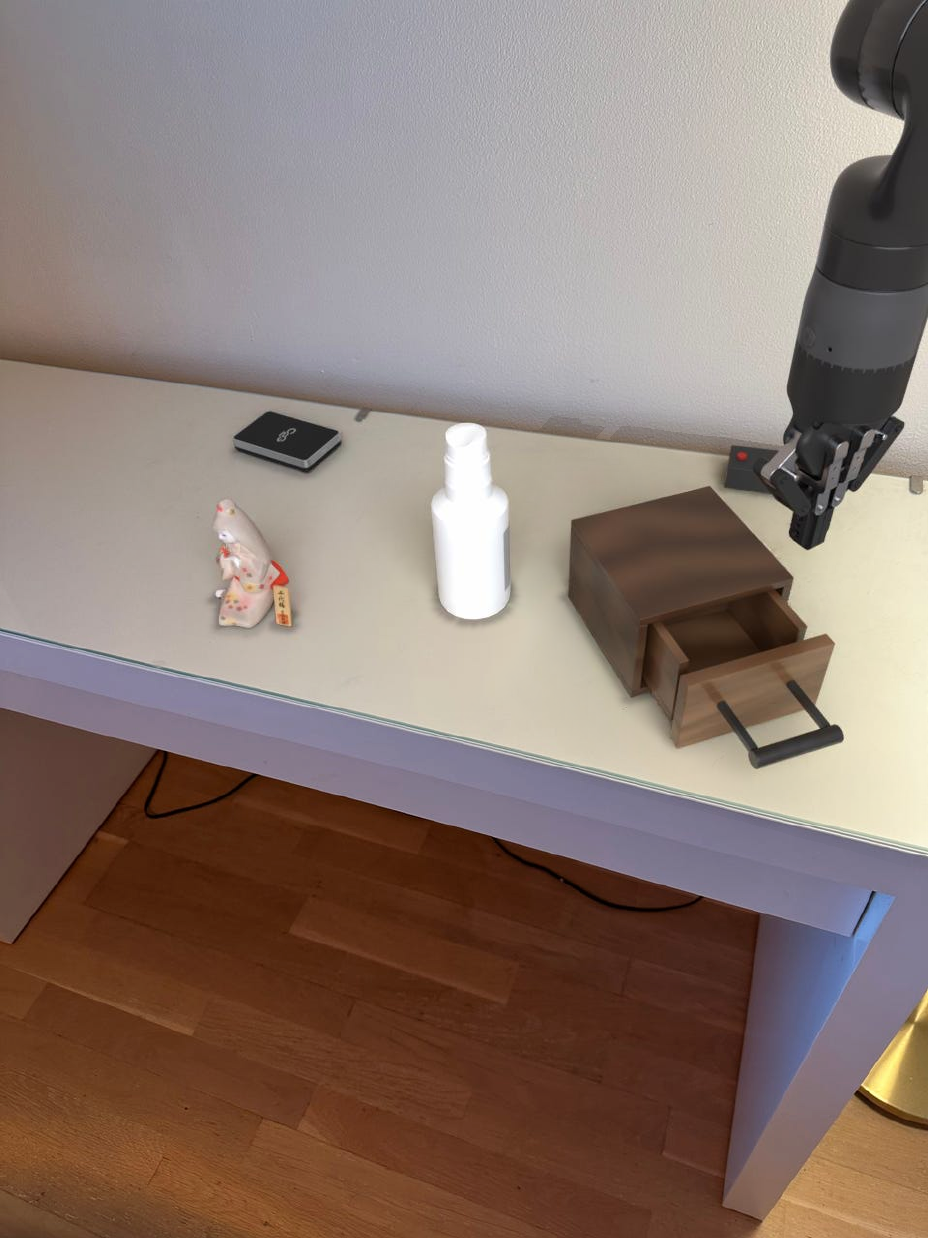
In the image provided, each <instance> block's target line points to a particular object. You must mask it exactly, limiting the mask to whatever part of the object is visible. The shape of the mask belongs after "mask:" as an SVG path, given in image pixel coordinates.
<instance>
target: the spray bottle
mask: <svg viewBox="0 0 928 1238" xmlns="http://www.w3.org/2000/svg"><path fill="white" fill-rule="evenodd" d="M444 441H445V453H444V456H443V463H444V486H443V487H441V488H440V489H439V490H437V492H436V493H435V494H434V496H433V497H432V500H431V504H430V514H431V525H432V536H433V548H434V558H435V570H436V571H435V572H436V581H437V591H438V598H439V602H440V604H441V605H442V606H443V608H444V609H445V610H446V612H448V613H449V614H451V615H453V616H454V617H457V618H461V619H464V620H481V619H486V618H487V619H488V618H490V617H492V616H495V615H497V614H498V613H499V612H501V611H502V610H503V609H505V607H506V605H507V604H508V602H509V601H510V599H511V591H512V590H511V589H512V588H511V540H510V537H511V536H510V535H511V533H510V502H509V499H508V495H507V494H506V492H505V491H504V490H503V489H502V488H501V487H500V486H499V485H496V484H494V483H493V475H492V463H491V460H492V459H491V453H490V450H489V448H488V433H487V430H486V429H485V427H484V426H482V425H480V424H478V423H474V422H460V423H456V424H454V425H452V426H450V427H449V428H447V430H446V431H445V434H444Z"/></svg>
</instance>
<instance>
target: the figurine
mask: <svg viewBox="0 0 928 1238" xmlns="http://www.w3.org/2000/svg"><path fill="white" fill-rule="evenodd" d="M211 523H212V529H213V530H214V531H215V532H216V533H217V536H218V538H219V539H220V541H222V543H221V546H220V548H219V550H218V552H217V555H216V557H215V562H216V565H217V567H219V568H220V569H221V570H220V580H222V581H224V580H229V579H231V581H229V583H230V585H229V586H228V588H227V589H225V588H223V589H217V590H216V591H215V597H216V598H221V602H220V610H219V613H218V625H219V626H222V627H224V626H225V627H227V626H237V627H241V628H245V629H246V628H247V629H251V628H254V627H255V626H256V625H258V624H259V623H260V622H261V621H262V620H263V619H264V618H265V616H266V615H267V614H268V613H269V612H270V609H271V607H272V606H273V603H274V612H275V623H276V624H277V625H279V626H284V627H285V626H286V627H289V628H290V627H291V628H292V625H293V622H292V621H293V620H292V619H293V618H292V615H293V611H292V609H291V608H292V606H291V594H290V587H288V586H285V585H288V584H289V583H290V578H289V577H288V575H287V573H286V571H285V570H284V569H283V567H282V566H281V565H280V564H279V563H278V562H277V561H276V560H272V552H271V549H270V546H269V544H268V542H267V540H266V539H265V536H264V535H263V534H262V532H261V530H260V529H259V528H258V526H257V524H256V523H255V522H254V521H253V519H252V518H251V517H250V516H249V515H248V514H247V513H246V512H245V511H244V510H243V509H242V508H241V507H239V506H237V503H236V502H235V501H234V499H232V498H229V497H224V498H222V499H220V500H219V501H218V502H217V504H216V513H215V515H214V517H213V519H212V522H211Z"/></svg>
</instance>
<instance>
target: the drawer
mask: <svg viewBox="0 0 928 1238" xmlns="http://www.w3.org/2000/svg"><path fill="white" fill-rule="evenodd" d="M807 629H808V625H807V624H806V622H804V621H803V620H802V618H801V617H800V615H798V614H797V613H796V612H795V610H794V609H793V608H792V607H791V606H790V604H789V603H787V602H786V601H785V600H784V599H783V598H782V597H781V596H780V594H779V593H778V592H777V591H776V590H775V589H774V590H770V591H767V592H763V593H759V594H756V595H752V596H748V597H745V598H741V599H738V600H734V601H730V602H727V603H723V604H719V605H716V606H712V607H709V608H705V609H701V610H698V611H694V612H690V613H687V614H683V615H679V616H676V617H672V618H669V619H665V620H661V621H658V622H654V623H650V624H648V628H647V636H646V644H645V653H644V661H643V669H642V678H643V679H644V681H645V682H646V684H647V685H648V687H649V688H650V690H651V691H652V692H651V693H652V695H653V696H654V698H655V700H656V701H657V702H658V704H659V706H660V707H661V709H662V710H663V711H664V713H665V714H666V716H667V718H668V719H669V721H670V722H672V725H671V731H670V737H669V738H670V740H671V742H672V744H673V745H674V746H675V748H676V749H677V750H678V749H681V748H685V747H688V746H691V745H695V744H698V743H701V742H704V741H708V740H711V739H714V738H717V737H718V738H719V737H720V736H724V735H727V734H731V733H733V732H734V734H735V735H736V736H737V738H738V740H739V741H740V742H741V744H742V745H743V746H744V748H745V749H746V750H747V752H748V754H747V755H748V761H749V764H750V765H751V766H752V768H754V769H755V770H760V769H762V768H766V767H769V766H773V765H776V764H778V763H781V762H785V761H787V760H792V759H794V758H797V757H800V756H803V755H807V754H809V753H813V752H817V751H820V750H822V749H826V748H829V747H833V746H835V745H838V744H841V743H843V742H844V739H845V735H844V731H843V730H842V727H841V726H839V725H838V724H835V723H834V724H831V723H830V722H829V721H828V719H827V718H826V717H825V716H824V714H822V712H821V711H820V710H819V708H818V707H817V702H818V698H819V696H820V693H821V690H822V687H823V683H824V679H825V676H826V674H827V670H828V667H829V664H830V662H831V659H832V655H833V652H834V648H835V646H836V642H835V641H834V640H833V639H832V638H831V636H829V635H828V634H827V633H822V634H819V635H816V636H813V637H810V638H806V639H805V637H806V633H807ZM802 711H805V712H806V713H807V714H808V715H809V717H810V718H811V719H812V720H813V722H814V723H815V724H816V726H817V727H818V729H817V728H816V729H814V730H811V731H808V732H805V733H802V734H798V735H795V736H792V737H789V738H785V739H783V740H779V741H776V742H773V743H770V744H767V745H762V746H760V747H759V746H758V744H757V743H756V742H755V740H754V739H753V738H752V736H751V735H750V733H749V732H748V730H747V728H750V727H753V726H756V725H760V724H763V723H766V722H770V721H773V720H777V719H779V718H783V717H786V716H789V715H792V714H795V713H796V714H797V713H799V712H802Z"/></svg>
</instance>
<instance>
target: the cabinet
mask: <svg viewBox="0 0 928 1238" xmlns="http://www.w3.org/2000/svg"><path fill="white" fill-rule="evenodd" d="M569 538H570V539H569V568H568V569H569V570H568V592H567V595H568V596H567V597H568V599H569V600H570V602H571V603H572V605H573V607H574V608H575V610H576V612H577V613H578V614H579V616H580V618H581V619H582V621H583V624H585V626H586V627H587V629H588V631H589V632H590V634H591V635H592V637H593V639H594V640H595V642H596V644H597V645H598V646H599V649H600V650H601V652H602V653H603V655H604V657H605V658H606V659H607V661H608V663H609V664H610V666H611V668H612V669H613V671H614V673H615V674H616V676H617V677H618V679H619V681H620V682H621V684H622V685H623V687H624V689H625V690H626V692H627V693H628V695H629V697H630V698H634V697H638V696H642V695H645V694H649V693H652V691H651V690H650V688H649V687H648V685H647V684H646V682H645V681H644V679H643V678H642V669H643V661H644V653H645V644H646V636H647V628H648V624H650V623H654V622H658V621H661V620H665V619H669V618H672V617H676V616H679V615H683V614H687V613H690V612H694V611H698V610H701V609H705V608H709V607H712V606H716V605H719V604H723V603H727V602H730V601H734V600H738V599H741V598H745V597H748V596H752V595H756V594H759V593H763V592H767V591H770V590H774V589H775V590H776V591H777V592H778V593H779V594H780V596H781V597H782V598H783V599H784V600H785V601H786V602H787V604H789V599H790V598H789V597H790V595H791V592H792V591H791V590H792V587H793V584H794V583H793V582H794V579H795V577H794V576H793V575H792V573H791V572H789V570H788V569H787V568H786V567H785V566H784V565H783V564H782V562H780V561H779V560H778V559H777V557H776V556H775V555H774V554H773V553H772V552H771V550H769V548H768V547H767V546H766V545H765V544H764V543H763V542H762V541H761V539H760V538H759V537H758V536H756V534H755V533H754V532H753V531H752V530H751V529H750V528H749V527H748V525H747V524H746V523H744V521H743V520H742V519H741V518H740V516H739V515H737V514H736V513H735V511H734V510H733V509H732V507H730V506H729V505H728V504H727V503H726V502H725V500H723V498H722V497H721V496H720V495H719V493H717V492H716V491H715V489H714V488H713V487H712V486H711V485H707V486H702V487H700V488H695V489H690V490H687V491H683V492H678V493H675V494H671V495H667V496H662V497H660V498H654V499H651V500H647V501H643V502H639V503H635V504H630V505H625V506H623V507H619V508H615V509H610V510H605V511H602V512H598V513H594V514H589V515H586V516H583V517H582V516H581V517H578V518H574V519H571V521H570V537H569Z"/></svg>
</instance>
